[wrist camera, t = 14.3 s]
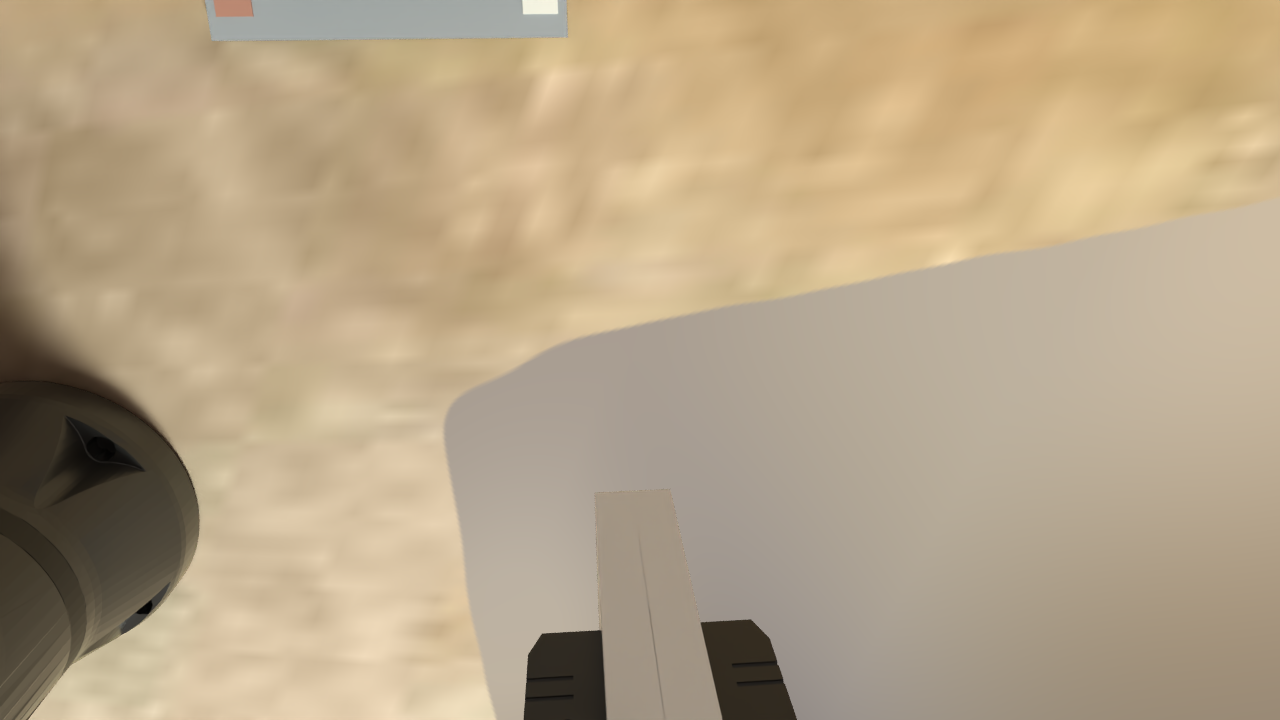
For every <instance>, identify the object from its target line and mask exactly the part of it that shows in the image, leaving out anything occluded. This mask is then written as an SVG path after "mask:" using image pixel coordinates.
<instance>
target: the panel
mask: <svg viewBox="0 0 1280 720" xmlns="http://www.w3.org/2000/svg"><path fill="white" fill-rule="evenodd" d="M205 3H206V9H207V15H208V21H209V27H210V33H211V39H212V41H270V40H366V39H462V38H558V37H568V29H567V2H566V0H205Z"/></svg>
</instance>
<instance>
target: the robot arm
mask: <svg viewBox="0 0 1280 720" xmlns="http://www.w3.org/2000/svg"><path fill="white" fill-rule="evenodd" d="M595 518H596V547H597V579H598V608H599V628H600V630H598V631H580V632H563V633H546V634H542V635H541V636H540V638H539V639H538V641H537V642H536V644H535V645H534V647H533V648H532V650H531V651H530V653H529V655H528V665H527V683H526V694H525V708H524V720H797V719H796V716H795V712H794V709H793V706H792V704H791V701H790V698H789V695H788V692H787V689H786V686H785V684H784V683H783V677H782V674H781V671H780V668H779V666H778V665H777V660H776V656H775V653H774V650H773V648H772V644H771V641H770V639H769V637H768V636H767V635H766V634H764V632H762V630H761V629H760V628H759V627H758V626H757V625H756V624H755V623H754V622H753V621H752V620H735V621H717V622H700V619H699V614H698V610H697V605H696V601H695V597H694V592H693V589H692V583H691V579H690V575H689V570H688V566H687V561H686V557H685V553H684V548H683V544H682V540H681V535H680V531H679V526H678V522H677V517H676V513H675V509H674V504H673V500H672V495H671V491H670V489H661V490H640V491H619V492H597V493H595ZM198 536H199V511H198V505H197V500H196V496H195V493H194V490H193V487H192V484H191V482H190V480H189V477H188V475H187V473H186V471H185V469H184V468H183V466H182V464H181V463H180V461H179V459H178V458H177V457H176V455H175V454H174V452H173V451H172V450H171V449H170V447H169V446H168V445H167V444H166V443H165V441H164V440H163V439H162V438H161V437H160V436H159V435H158V434H157V433H156V432H155V431H153V430H152V429H151V428H150V427H149V426H148V425H147V424H145V423H144V422H143V421H142V420H140V419H139V418H138V417H136V416H135V415H133V414H132V413H130V412H129V411H127V410H125V409H124V408H122V407H121V406H119V405H117V404H115V403H113V402H111V401H109V400H107V399H105V398H103V397H100V396H98V395H95V394H93V393H90V392H87V391H84V390H81V389H78V388H74V387H70V386H66V385H61V384H56V383H48V382H37V381H16V382H5V383H0V720H28V719H29V718H30V716H31V715H32V714H33V712H34V711H35V710H36V709H37V707H38V706H39V705H40V703H41V702H42V701H43V700H44V698H45V697H46V696H47V694H48V693H49V692H50V691H51V689H52V688H53V687H54V685H55V684H56V683H57V681H58V680H59V679H60V678H61V676H62V675H63V674H64V673H65V671H66V670H67V669H68V668H69V666H70V665H72V664H73V663H75V662H77V661H78V660H80V659H82V658H84V657H85V656H87V655H89V654H90V653H92V652H94V651H95V650H97V649H99V648H100V647H102V646H104V645H105V644H107V643H109V642H111V641H112V640H114V639H116V638H117V637H119V636H120V635H122V634H124V633H126V632H128V631H129V630H131V629H132V628H134V627H136V626H137V625H139V624H140V623H142V622H143V621H144V620H145V619H147V618H148V617H149V616H150V615H151V614H152V613H154V612H155V611H156V610H157V609H158V608H159V607H160V606H161V605H162V603H163V602H164V601H165V600H166V599H167V597H168V596H169V595H170V593H171V592H172V591H173V589H174V588H175V587H176V585H177V584H178V582H179V581H180V580H181V578H182V577H183V575H184V574H185V572H186V571H187V569H188V567H189V565H190V563H191V561H192V559H193V556H194V553H195V550H196V547H197V542H198Z"/></svg>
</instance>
